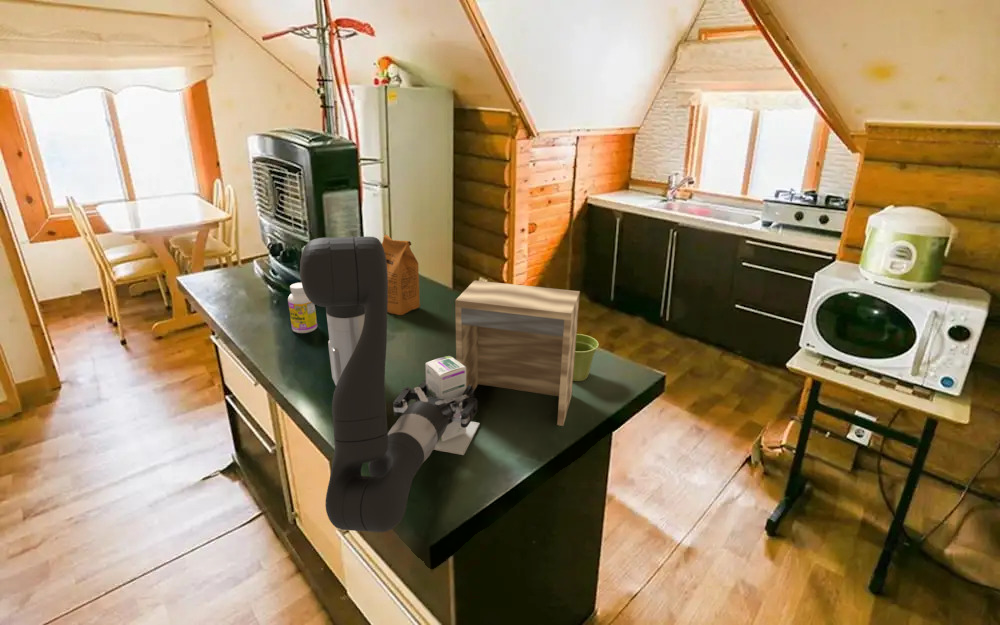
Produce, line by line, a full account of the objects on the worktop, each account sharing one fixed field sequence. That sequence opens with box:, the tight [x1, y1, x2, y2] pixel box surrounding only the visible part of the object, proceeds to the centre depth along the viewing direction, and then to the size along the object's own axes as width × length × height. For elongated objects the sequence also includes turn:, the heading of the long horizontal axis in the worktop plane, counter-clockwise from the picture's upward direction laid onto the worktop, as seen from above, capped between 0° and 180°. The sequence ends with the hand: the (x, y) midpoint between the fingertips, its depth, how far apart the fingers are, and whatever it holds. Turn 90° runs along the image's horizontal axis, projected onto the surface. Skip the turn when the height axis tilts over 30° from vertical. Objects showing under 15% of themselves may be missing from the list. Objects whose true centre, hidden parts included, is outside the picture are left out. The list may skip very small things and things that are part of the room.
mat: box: [433, 421, 480, 456], centre depth 104 cm, size 10×10×1 cm
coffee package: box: [381, 234, 421, 316], centre depth 159 cm, size 10×12×22 cm
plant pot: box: [573, 333, 600, 382], centre depth 125 cm, size 9×9×9 cm
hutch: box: [454, 280, 581, 427], centre depth 111 cm, size 12×22×24 cm, turn 75°
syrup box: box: [425, 355, 466, 441], centre depth 101 cm, size 6×6×14 cm
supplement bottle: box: [287, 282, 318, 334], centre depth 146 cm, size 7×7×13 cm
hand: (449, 386), depth 102 cm, fingers open, 8 cm apart
